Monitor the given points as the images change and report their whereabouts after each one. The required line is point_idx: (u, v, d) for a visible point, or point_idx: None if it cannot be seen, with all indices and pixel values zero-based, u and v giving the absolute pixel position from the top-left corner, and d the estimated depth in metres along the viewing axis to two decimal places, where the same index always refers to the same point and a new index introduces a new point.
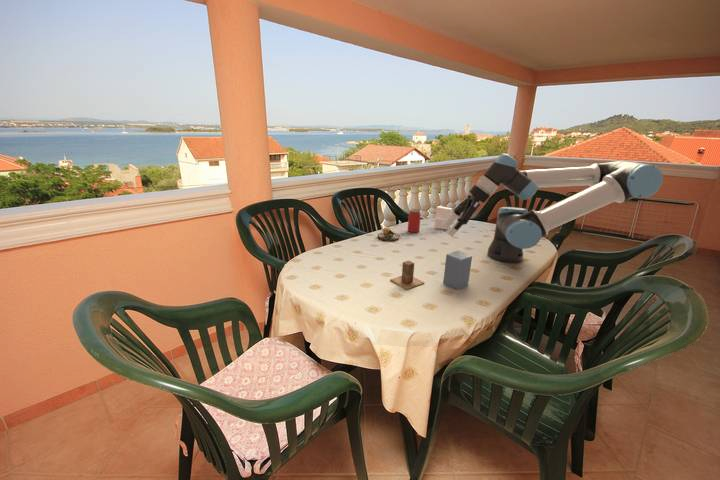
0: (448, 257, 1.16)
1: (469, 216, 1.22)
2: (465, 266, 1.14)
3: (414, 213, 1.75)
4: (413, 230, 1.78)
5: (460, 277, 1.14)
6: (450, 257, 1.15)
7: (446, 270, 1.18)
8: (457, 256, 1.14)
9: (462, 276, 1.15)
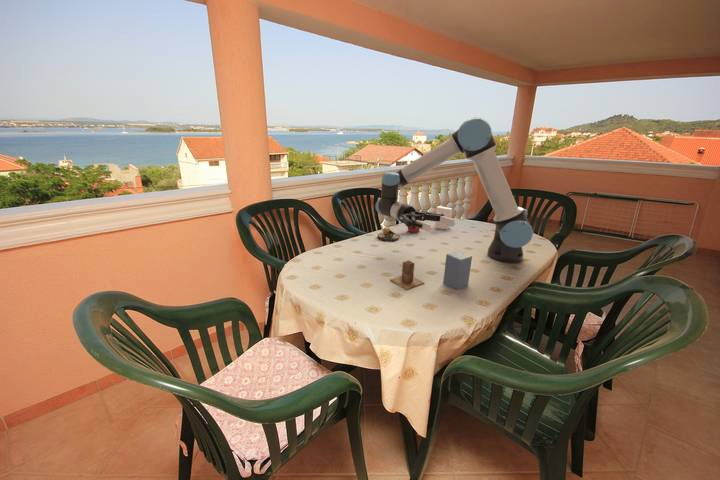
0: (448, 257, 1.16)
1: (405, 220, 1.23)
2: (465, 266, 1.14)
3: None
4: (413, 230, 1.78)
5: (460, 277, 1.14)
6: (450, 257, 1.15)
7: (446, 270, 1.18)
8: (457, 256, 1.14)
9: (462, 276, 1.15)
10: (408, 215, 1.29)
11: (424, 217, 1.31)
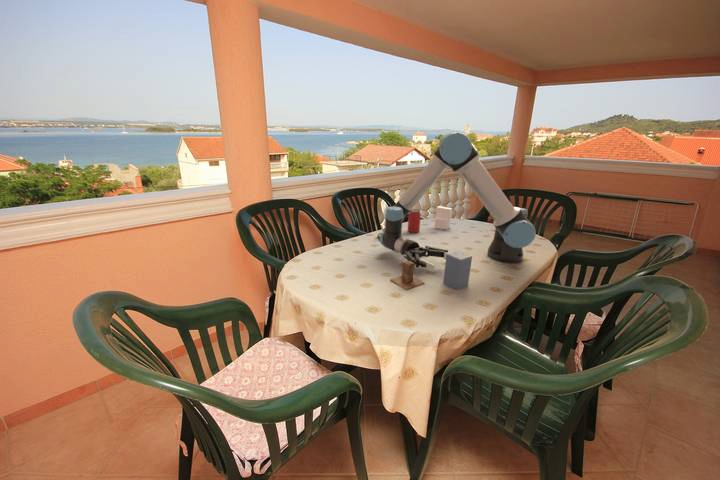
0: (448, 257, 1.16)
1: (409, 258, 1.24)
2: (465, 266, 1.14)
3: (414, 213, 1.75)
4: (413, 230, 1.78)
5: (460, 277, 1.14)
6: (450, 257, 1.15)
7: (446, 270, 1.18)
8: (457, 256, 1.14)
9: (462, 276, 1.15)
10: (412, 252, 1.30)
11: (428, 253, 1.32)
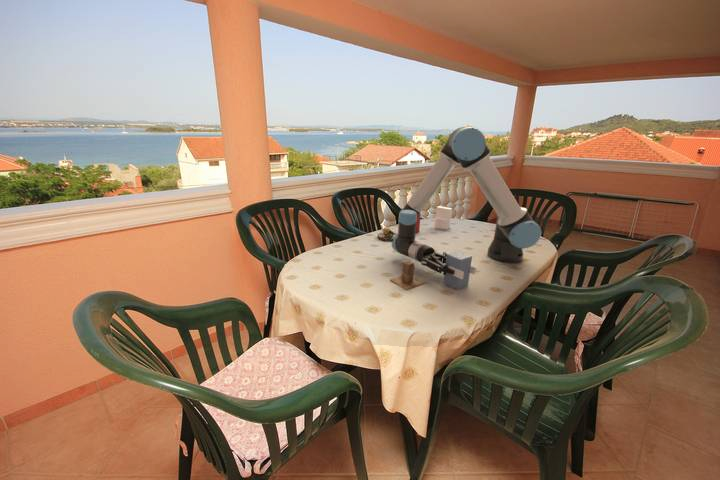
0: (448, 257, 1.16)
1: (434, 265, 1.18)
2: (465, 266, 1.14)
3: None
4: None
5: None
6: (450, 257, 1.15)
7: None
8: (457, 256, 1.14)
9: None
10: (429, 258, 1.24)
11: (443, 260, 1.25)
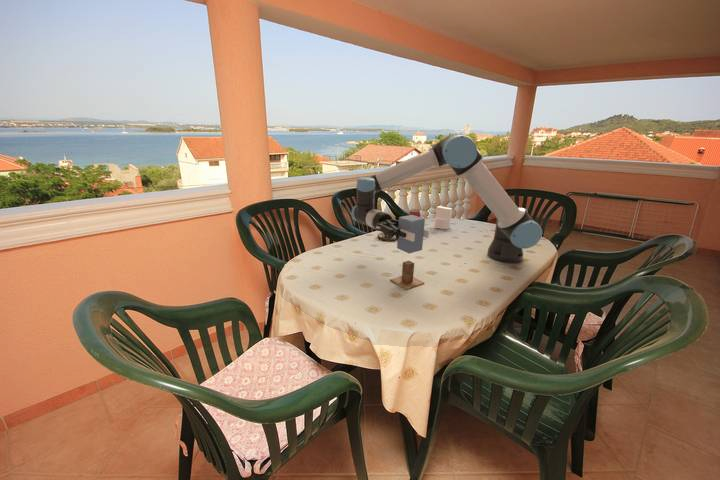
0: (400, 220, 1.12)
1: (386, 229, 1.14)
2: (418, 229, 1.11)
3: (414, 213, 1.75)
4: None
5: None
6: (402, 220, 1.11)
7: None
8: (409, 218, 1.11)
9: (415, 239, 1.11)
10: (384, 223, 1.20)
11: None
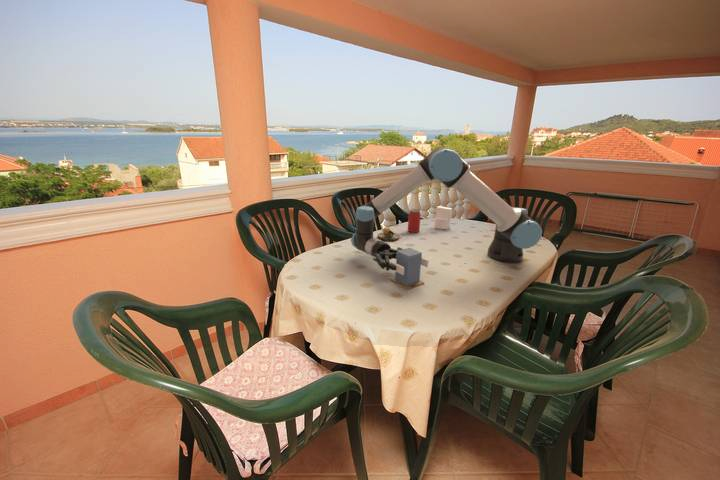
0: (398, 254, 1.16)
1: (379, 261, 1.18)
2: (415, 263, 1.15)
3: (414, 213, 1.75)
4: (413, 230, 1.78)
5: (409, 274, 1.15)
6: (400, 254, 1.16)
7: None
8: (406, 253, 1.15)
9: (412, 273, 1.16)
10: (382, 254, 1.24)
11: None
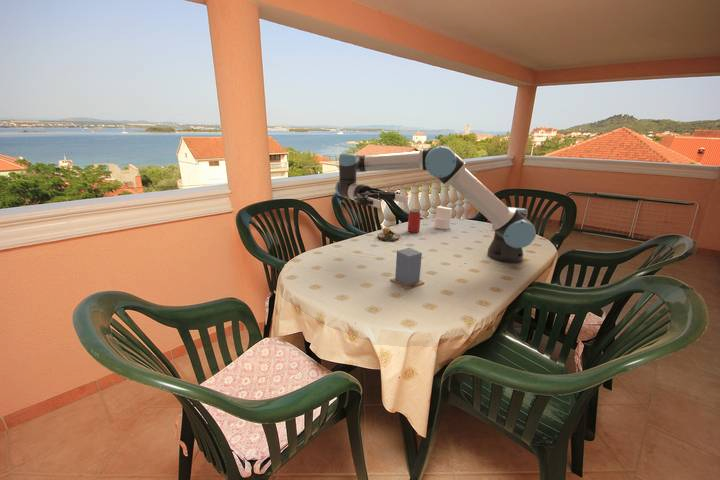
0: (398, 254, 1.16)
1: (358, 198, 1.21)
2: (415, 263, 1.15)
3: (414, 213, 1.75)
4: (413, 230, 1.78)
5: (409, 274, 1.15)
6: (400, 254, 1.16)
7: (397, 267, 1.18)
8: (406, 253, 1.15)
9: (412, 273, 1.16)
10: (363, 194, 1.27)
11: (380, 196, 1.29)
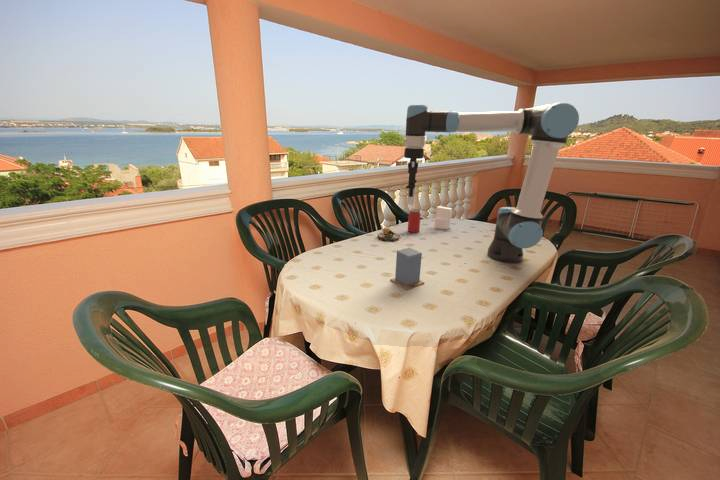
0: (398, 254, 1.16)
1: (413, 178, 1.19)
2: (415, 263, 1.15)
3: (414, 213, 1.75)
4: (413, 230, 1.78)
5: (409, 274, 1.15)
6: (400, 254, 1.16)
7: (397, 267, 1.18)
8: (406, 253, 1.15)
9: (412, 273, 1.16)
10: None
11: None
